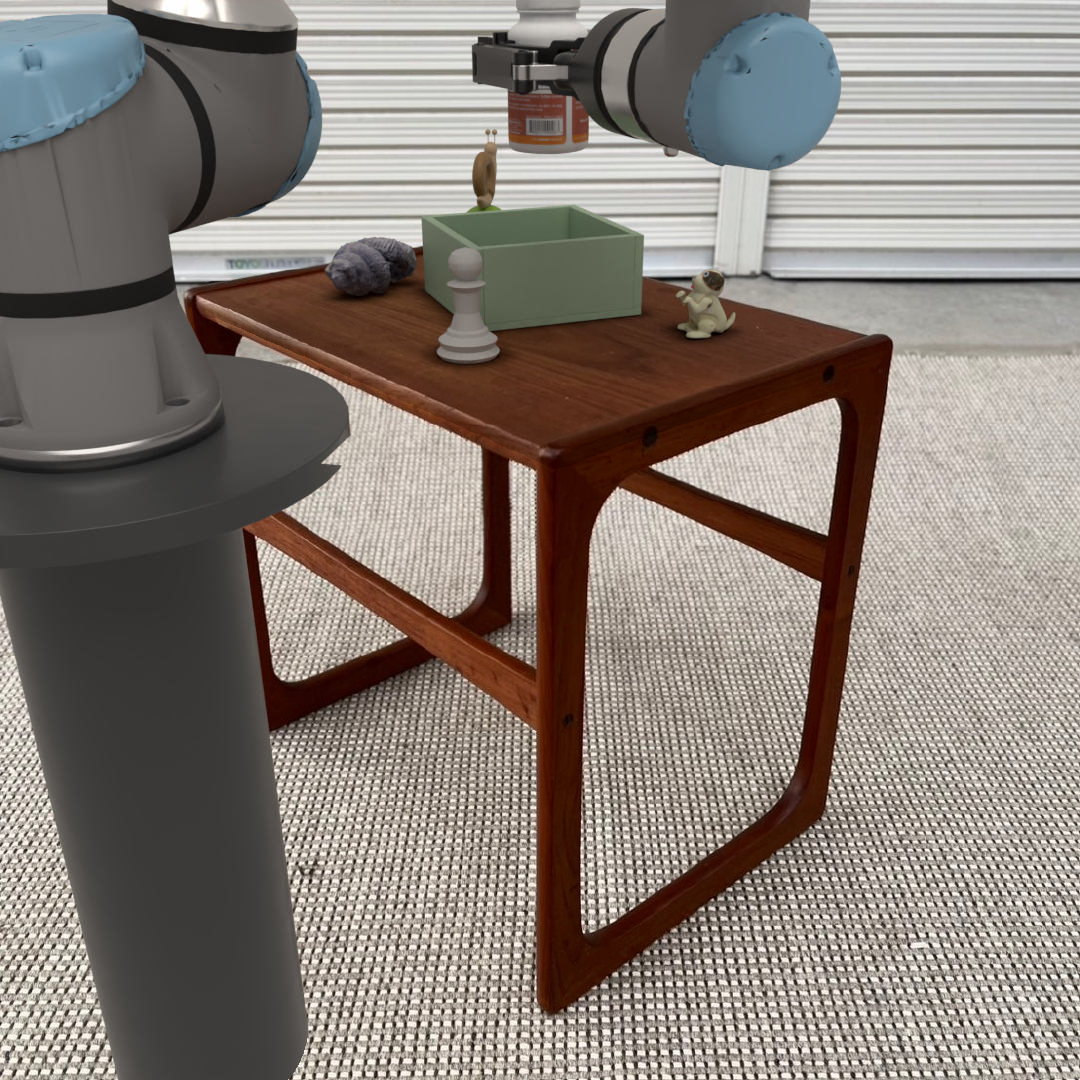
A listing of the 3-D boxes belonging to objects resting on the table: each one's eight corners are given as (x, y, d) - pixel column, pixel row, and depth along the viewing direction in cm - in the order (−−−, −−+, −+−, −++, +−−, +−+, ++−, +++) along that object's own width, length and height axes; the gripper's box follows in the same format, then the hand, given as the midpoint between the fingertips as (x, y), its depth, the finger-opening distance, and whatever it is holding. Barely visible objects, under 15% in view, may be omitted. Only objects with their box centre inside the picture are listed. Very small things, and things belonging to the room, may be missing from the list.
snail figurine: (520, 253, 117) (519, 129, 111) (507, 267, 111) (505, 137, 106) (468, 251, 118) (464, 128, 112) (453, 265, 112) (448, 136, 107)
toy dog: (672, 327, 92) (675, 265, 90) (732, 326, 92) (736, 264, 90) (678, 339, 89) (681, 275, 87) (740, 339, 89) (744, 275, 87)
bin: (475, 333, 91) (473, 249, 88) (424, 290, 103) (421, 216, 100) (641, 314, 96) (644, 234, 93) (574, 276, 108) (574, 204, 105)
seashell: (401, 292, 108) (334, 320, 100) (369, 243, 107) (299, 268, 99) (436, 262, 104) (370, 289, 97) (403, 211, 104) (334, 234, 96)
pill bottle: (560, 142, 92) (561, -11, 87) (604, 151, 87) (607, -10, 82) (493, 147, 89) (490, -10, 84) (534, 157, 84) (533, -10, 79)
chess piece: (424, 358, 85) (418, 249, 82) (460, 342, 89) (457, 237, 85) (476, 368, 83) (473, 257, 79) (511, 351, 86) (510, 244, 83)
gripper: (506, 148, 69) (408, 110, 88) (783, 133, 75) (634, 100, 94) (504, 11, 66) (402, 3, 85) (794, 7, 72) (637, 0, 91)
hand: (524, 54), depth 90 cm, fingers closed on pill bottle, 6 cm apart
